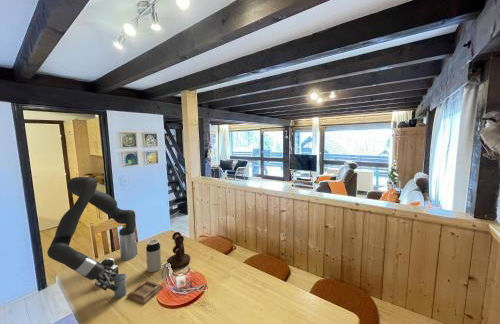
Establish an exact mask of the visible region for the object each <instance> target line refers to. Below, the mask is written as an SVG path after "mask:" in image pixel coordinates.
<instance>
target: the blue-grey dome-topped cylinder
mask: <svg viewBox="0 0 500 324" xmlns="http://www.w3.org/2000/svg"><path fill="white" fill-rule="evenodd" d="M126 279H127V275H126V273H118V275H116V276H115V277H114V278H113V281H112V282H113V284H114V285H116V286H117V287H118V289H117V290H116V291H114V298H115V299H122V298H124V297H125V296H127V287H126V283H127V282H126Z"/></svg>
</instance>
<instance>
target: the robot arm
mask: <svg viewBox="0 0 500 324" xmlns="http://www.w3.org/2000/svg"><path fill="white" fill-rule="evenodd" d="M97 186H98V182H97V180H96V179H95V178H94V177H90V176H89V177H88V176H76V177H72V178H71V179H69V180H68V181H67V189H68V191H69V192H70V193H71V194H72V195H75V196H77V197H78V198H77V199H76V200H75V202H74V203H73V205H72V206H71V207H70V208H69V209H68V210H67V211H66V212H65V213H64V214H63V216H61V218H60V221H59V223H58V225H57V227H56V231H55V233H54V237H53V239H52V241H51V243H50V245H49V247H48V249H47V251H46V253H47V257H49V258H50V259H52V260H53V261H56V262H58V263H60V264H63V265H64V266H66V267H67V268H69V269H71V270H73V271H75V272H76V273H78V275H81V276H83V277H84V278H86V279H88V280H90V281H94V280H96V282H95V283H94V285H95V286H96V287H98V288H99V289H101V290H102V291H105V292H106V291H107V290H108V289H109V290H111V291H112V292H115V291H116V290H117V289H118V287H117V286H116V285H114V283H113V282H110V279H109V277H111V278H114V277H115V276H116V275H117V274H116V273H115V270H114V269H112V268H110V267H108V266H107V265H106V266H105V267H104V265H103V264H101V262H100V261H97V260H95V259H94V258H92V257H89V256H88V255H86V254H85V253H82V252H80V251H77V250H76V249H74V248H73V247H71V246H70V244H71V241H72V237H73V235H74V234H75V233H76V230H77V227H78V225H79V222H80V220H81V217H82V215H83V213H84V212H85V210H86V208H87V206H88V204H90V205H92V206H94V207H95V208H97V209H98V210H99V211H101V212H103V213H104V214H106V215H107V216H109V217H110V218H112V220H113V221H115V222H116V223H117V224H121V225H125V227H122V228H120V229H119V230H118V231H119V232H118V234H119V235H118V236H119V249H120V250H119V251H120V260H122V261H128V260H132V259H133V258H135V257H136V256H137V255H138V243H137V241H136V233H135V231H136V230H135V229H136V212H135V211H134V210H132V209H121V208H119V207H118V202H117V200H116V199H115V198H114V197H112V196H111V195H109V194H107V193H106V192H104V191H99V190H98V189H97ZM110 270H111V271H110ZM107 283H108V284H107Z"/></svg>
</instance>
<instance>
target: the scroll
mask: <svg viewBox="0 0 500 324" xmlns="http://www.w3.org/2000/svg"><path fill="white" fill-rule="evenodd" d="M171 238H172V240H173V241H174V244H175V245H174V247H173V248H172V252H173V253H174V254H173V255H171V256H169V257H168V258H167V259H166V263H167V262H168V263H170V264H171V266H172V267H173V268H174V269H175V268H179V267H180V268H181V267H183V266H186V265H189V264H190V261H191V256H190V254H188V253H185V243H184V240H185V238H184V236H183V235H182V234H181V232H179V231H175V232H174V233H173V234H172V237H171ZM172 267H171V268H172ZM173 268H172V269H173Z"/></svg>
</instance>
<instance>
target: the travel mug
mask: <svg viewBox="0 0 500 324" xmlns="http://www.w3.org/2000/svg"><path fill="white" fill-rule="evenodd" d="M145 243H146V247H145V250H146V251H145V252H146V270H147V272H149V273H154V272H157V271H159V270H160V269H161V268H162V258H161V244H160V239H159V238H152V239H149V240H147V241H146V242H145Z"/></svg>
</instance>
